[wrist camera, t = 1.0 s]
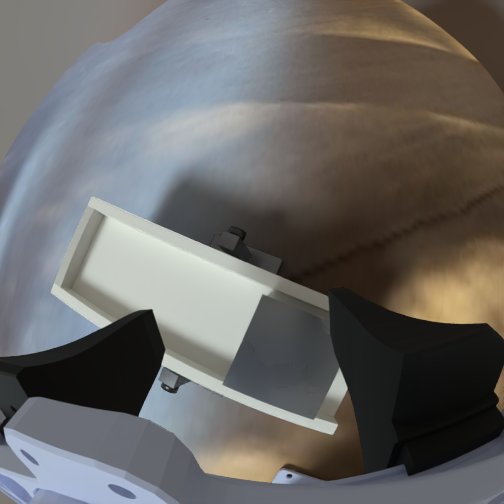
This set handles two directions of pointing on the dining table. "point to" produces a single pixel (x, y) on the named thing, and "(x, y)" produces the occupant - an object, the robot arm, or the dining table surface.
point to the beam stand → (236, 248)
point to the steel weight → (285, 359)
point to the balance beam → (180, 298)
